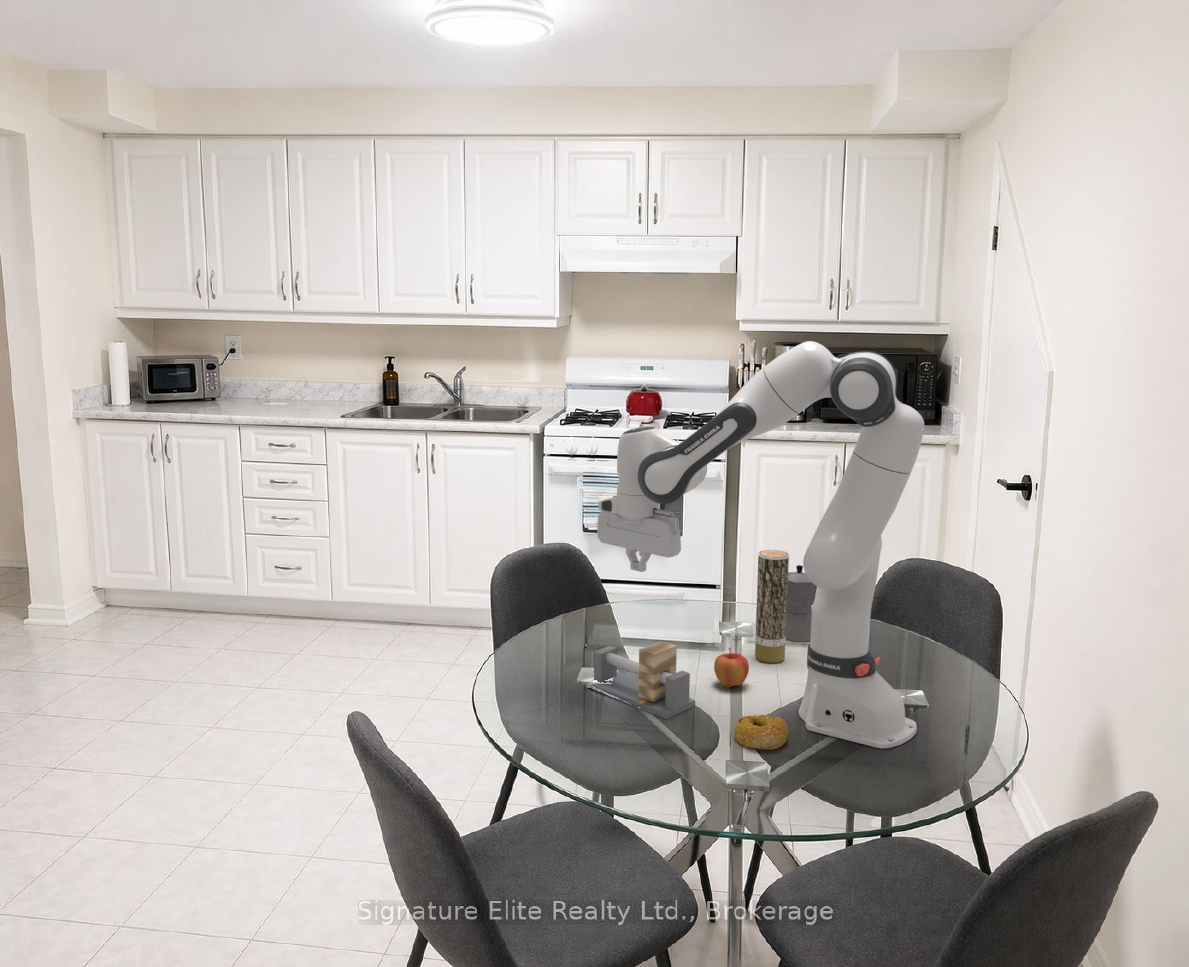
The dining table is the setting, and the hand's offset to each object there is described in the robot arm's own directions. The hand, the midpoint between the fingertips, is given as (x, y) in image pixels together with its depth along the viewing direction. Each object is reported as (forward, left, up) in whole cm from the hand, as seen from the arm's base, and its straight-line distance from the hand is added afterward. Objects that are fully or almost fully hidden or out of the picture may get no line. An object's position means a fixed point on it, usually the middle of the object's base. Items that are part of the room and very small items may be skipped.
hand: (638, 570), depth 198 cm
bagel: (-33, +2, -26) cm, 42 cm away
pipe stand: (-4, +3, -26) cm, 26 cm away
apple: (-14, -15, -26) cm, 33 cm away
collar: (-8, +3, -24) cm, 25 cm away
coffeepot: (-8, -52, -26) cm, 58 cm away
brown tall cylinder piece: (-11, -34, -26) cm, 44 cm away
